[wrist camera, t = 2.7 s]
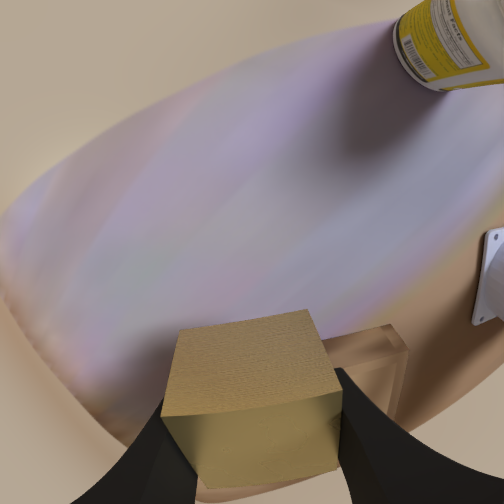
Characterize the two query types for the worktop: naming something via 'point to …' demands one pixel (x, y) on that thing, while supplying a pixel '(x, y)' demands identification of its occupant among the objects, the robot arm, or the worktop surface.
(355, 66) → the worktop surface
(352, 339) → the brown wooden frame
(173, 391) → the wooden block
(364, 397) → the robot arm
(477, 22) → the supplement bottle
